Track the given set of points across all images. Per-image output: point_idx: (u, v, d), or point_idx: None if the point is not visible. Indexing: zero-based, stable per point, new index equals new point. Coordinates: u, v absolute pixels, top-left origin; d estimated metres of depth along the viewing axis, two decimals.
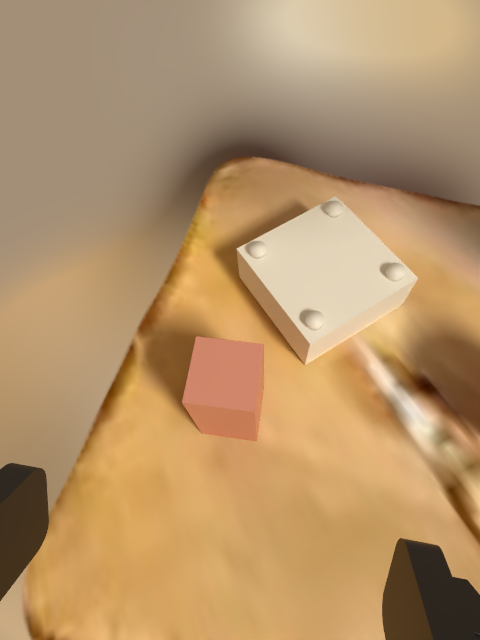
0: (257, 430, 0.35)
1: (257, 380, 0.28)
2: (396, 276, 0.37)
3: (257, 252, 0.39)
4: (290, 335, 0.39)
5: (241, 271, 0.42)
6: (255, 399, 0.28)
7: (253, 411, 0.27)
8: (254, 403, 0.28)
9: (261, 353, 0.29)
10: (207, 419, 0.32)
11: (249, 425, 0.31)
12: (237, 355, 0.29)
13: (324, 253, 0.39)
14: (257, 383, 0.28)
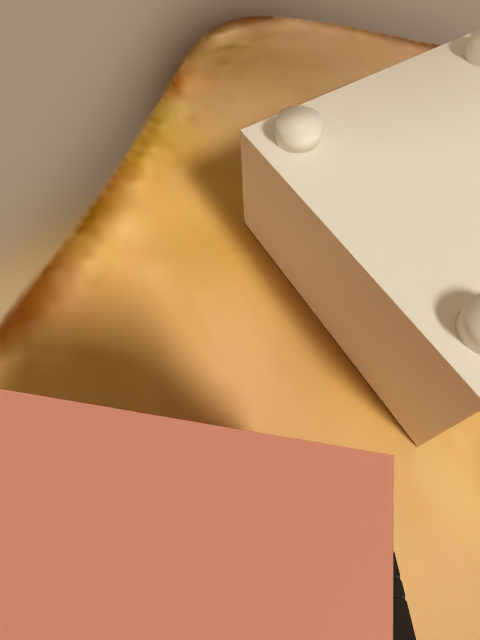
0: None
1: None
2: None
3: (298, 131, 0.14)
4: (384, 365, 0.14)
5: (250, 202, 0.18)
6: None
7: None
8: None
9: (386, 524, 0.04)
10: None
11: None
12: (228, 532, 0.04)
13: None
14: None
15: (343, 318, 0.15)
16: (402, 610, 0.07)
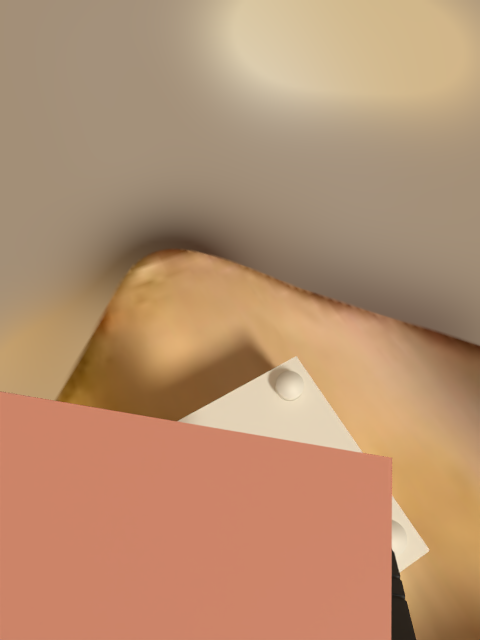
0: None
1: None
2: None
3: None
4: None
5: None
6: None
7: None
8: None
9: (384, 527, 0.04)
10: None
11: None
12: (226, 536, 0.04)
13: None
14: None
15: None
16: (402, 610, 0.07)
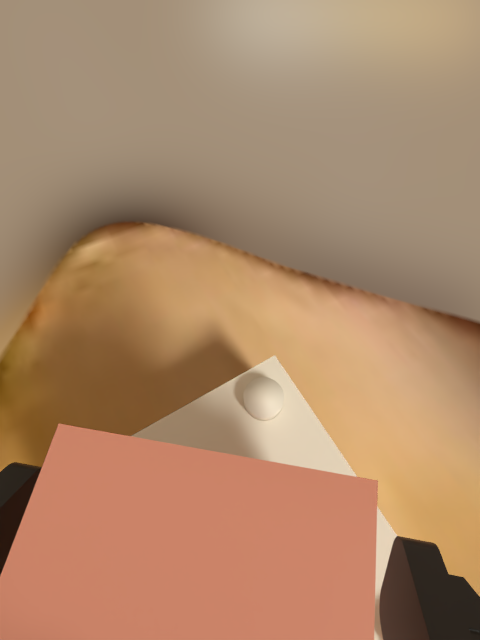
0: None
1: None
2: None
3: None
4: None
5: None
6: None
7: None
8: None
9: (371, 536, 0.06)
10: None
11: None
12: (247, 542, 0.06)
13: None
14: None
15: None
16: None
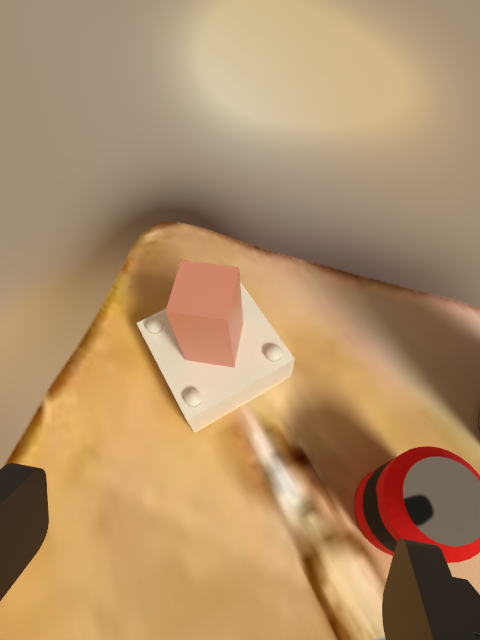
0: (234, 355, 0.39)
1: (231, 295, 0.33)
2: (273, 358, 0.40)
3: (152, 329, 0.42)
4: None
5: None
6: (229, 310, 0.32)
7: (226, 319, 0.32)
8: (228, 313, 0.32)
9: (236, 274, 0.34)
10: (188, 336, 0.36)
11: (225, 342, 0.36)
12: (215, 276, 0.34)
13: None
14: (231, 298, 0.33)
15: None
16: None
